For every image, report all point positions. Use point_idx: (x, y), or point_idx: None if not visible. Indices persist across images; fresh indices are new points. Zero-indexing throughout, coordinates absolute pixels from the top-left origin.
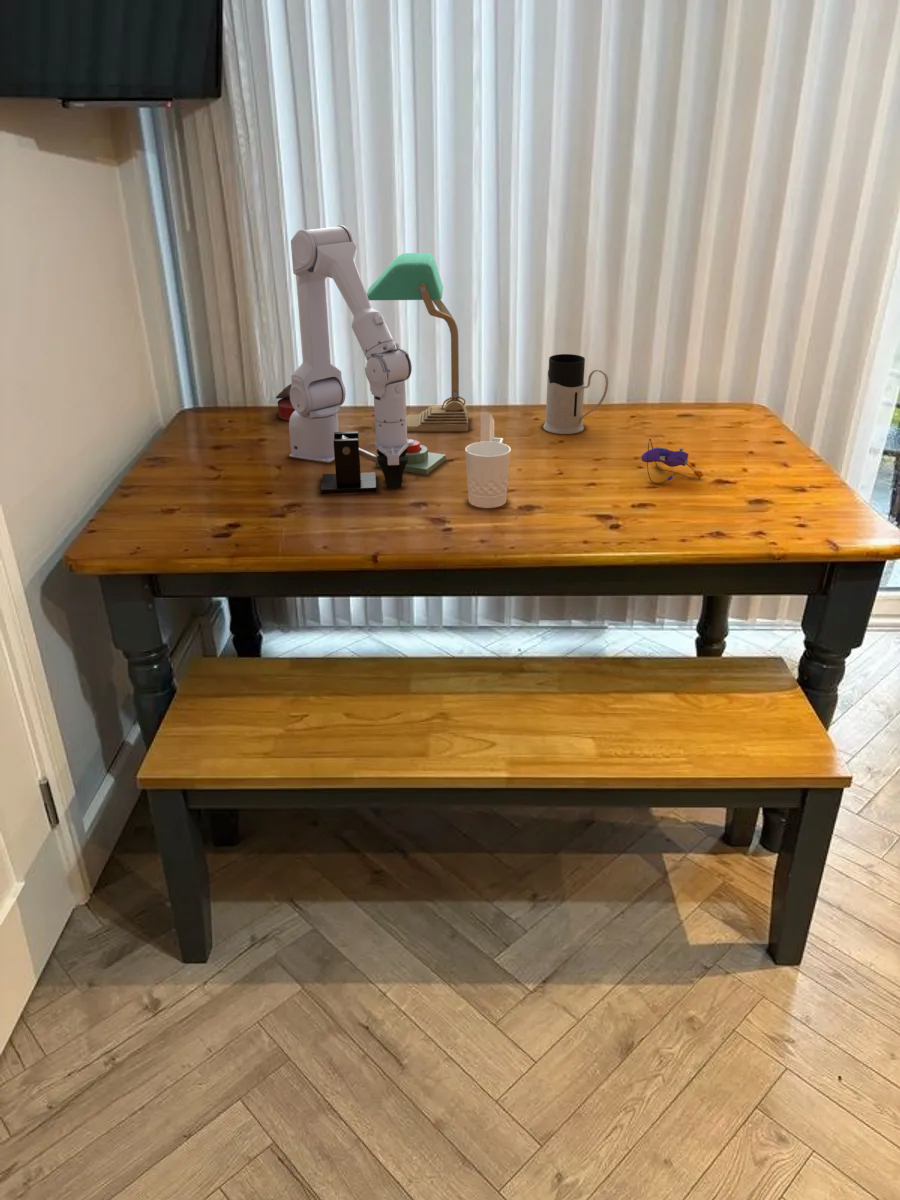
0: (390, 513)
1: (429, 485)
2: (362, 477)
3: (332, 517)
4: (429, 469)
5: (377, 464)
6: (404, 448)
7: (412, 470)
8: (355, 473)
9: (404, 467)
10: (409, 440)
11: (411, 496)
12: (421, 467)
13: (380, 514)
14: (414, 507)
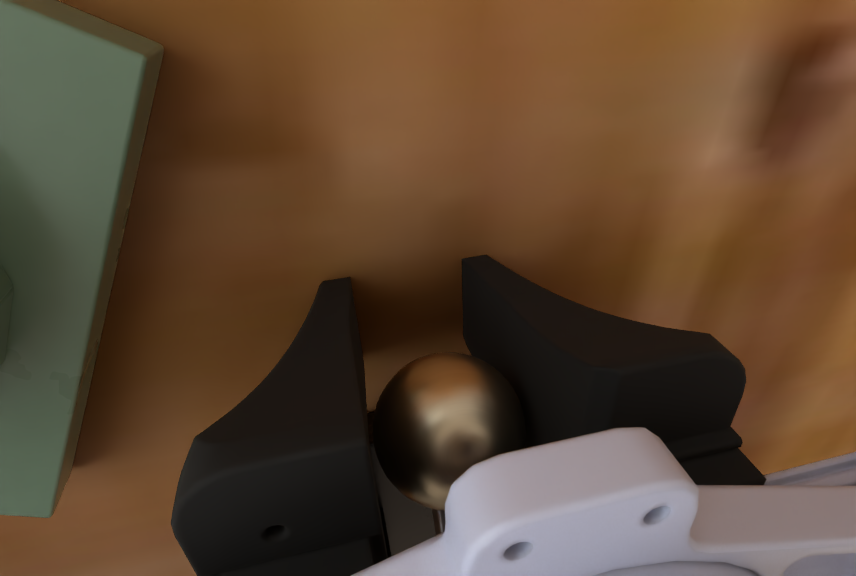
0: (834, 260)
1: (428, 10)
2: (384, 500)
3: (756, 465)
4: (63, 15)
5: (61, 488)
6: (799, 510)
7: (122, 213)
8: None
9: (652, 329)
10: (552, 565)
11: (639, 163)
12: (93, 127)
13: (820, 305)
14: (825, 127)
